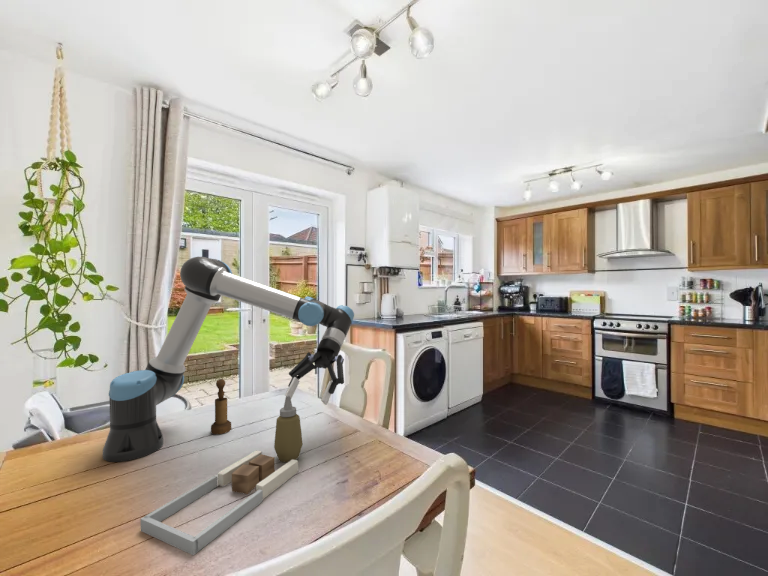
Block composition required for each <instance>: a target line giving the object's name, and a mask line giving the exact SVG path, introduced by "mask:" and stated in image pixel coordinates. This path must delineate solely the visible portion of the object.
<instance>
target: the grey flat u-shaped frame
mask: <svg viewBox="0 0 768 576" xmlns="http://www.w3.org/2000/svg"><path fill="white" fill-rule="evenodd" d="M217 487H218V475H213V476H211V477H210V478H208V479H206V480H205V481H203V482H201V483H200V484H197V485H195V486H193V487H192V488H190V489H189V490H187V491H186V492H184V493H182V494H180V495H179V496H177V497H175V498H174V499H172V500H170V501H169V502H167V503H164V504H163V505H161V506H160V507H158V508H156V509H155V510H153V511H151V512H150V513H148V514H146V515H144V516H143V517H141V518H140V532H142V533H144V534H147V535H149V536H151V537H153V538H155V539H157V540H160V541H161V542H164V543H165V544H168V545H170V546H172V547H173V548H174V547H175V548H176V549H178V550H181V551H182V552H186V553H188V554H189V555H191V556H195V555H196V554H197V553H198V552H200V550H202V549H203V548H205V547H206V546H207V545H208V544H210V543H211V542H212V541H214V540H215V539H216V538H217V537H219V536H220V535H221V534H222V533H224V532H225V531H226V530H227V529H229V528H230V527H231V526H233V525H234V524H235V523H237V522H238V521H239V520H241V519H242V518H243V517H244V516H246V515H247V514H248V513H250V511H252V510H254V508H256V507H257V506H259V505H260V504H261V503H263V500H264V499H263V490H260V489H259V490H258V491H257V492H256V491H254V493H252V494H251V495H250V496H248V497H247V498H246V499H244V500H243V501H241V502H240V503H239V504H237V505H235V507H233V508H232V509H230V510H229V511H228V512H226V513H225V514H224V515H222V516H221V517H219V518H218V519H217V520H215V521H214V522H212V523H211V524H209V525H208V526H207V527H205V528H204V529H203V530H202V531H200V532H198V533H197V534H196V535H191V534H189V533H186V531H183V530H181V529H178V528H175V527H173V526H171V525H168V524H165V523H163V522H162V521H164V520H166V519H167V518H169V517H171V516H172V515H174V514H175V513H177V512H178V511H180V510H182V509H183V508H185V507H186V506H188V505H190V504H192V503H193V502H195V501H196V500H199V498H201V497H203V496H204V495H206V494H207V493H209V492H211V491H212V490H214V489H215V488H217Z"/></svg>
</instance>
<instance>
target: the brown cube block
mask: <svg viewBox="0 0 768 576" xmlns="http://www.w3.org/2000/svg"><path fill="white" fill-rule="evenodd" d="M258 483H259V466H252V465H245V464H243V465H242V466H241V467H240V468H238V469H237V470H236V471H234V472H233V473H232V481H231V492H232V493H237V494H243V493H244V494H245V495H249V494H250V493H251V492H252V491H253V490H255V489H256V484H258Z"/></svg>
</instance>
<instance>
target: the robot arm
mask: <svg viewBox="0 0 768 576" xmlns="http://www.w3.org/2000/svg"><path fill="white" fill-rule="evenodd" d="M179 271H180V273H179V274H180V275H179V277H180V280H181V282H182V283H183V285H184V291H185V293H186V296H185V298H184V300H183V302H182V304H181V306H180V308H179V310H178V313H177V314H176V317H175V318H174V321H173V323H172V325H171V326H170V329H169V332H168V333H167V336H166V337H165V339H164V342H163V343H162V345H161V347H160V350H159V351H158V354H157V356H155V357H152V358H150V359H149V360H148V363H147V365H146V367H145V369H141V370H134V371H130V372H127V373H123V374H120V375H118V376H116V377H115V378H113V379H112V380H111V382H110V384H109V389H108V390H109V391H108V397H109V400H108V401H109V432H108V434H107V437H106V440H105V443H104V445H103V448H102V460H104V461H105V460H106V461H105V462H109V463H110V462H113V463H117V462H118V463H120V462H126V461H130V460H131V461H132V460H135V459H139V458H143V457H145V456H147V455H151V454H153V453H154V452H156V451H158V450H160V449H161V448H162V447H163V444H164V435H163V433H162V430H161V428H160V426H159V424H158V420H157V406H158V405H159V404H162V403H163V402H165V401H167V400H168V399H170V398H172V397H174V396H175V395H176V394H177V393H179V391H181V388H182V387H183V385H184V382H185V375H184V374H185V372H186V366H185V364H184V363H185V361H186V359H187V357H188V356H189V353H190V351H191V348H192V347H193V345H194V343H195V341H196V338H197V336H198V334H199V332H200V330H201V329H202V328H201V327H202V326H203V324H204V321H205V319H206V317H207V315H208V312H209V311H210V309H211V307H212V304H214V303H217V302H219V300H220V299H221V296H222V297H226V298H228V299H231V300H233V301H234V300H235V301H238V302H241V303H244V304H246V305H249V306H253V307H255V308H259V309H262V310H265V311H268V312H271V313H274V314H277V315H280V316H282V317H286V318H289V319H292V320H295V321H297V322H300V323H302V324H303V325H305V326H307V327H314V326H317V325H318V324H319V325H322V326H324V327H326V329H325V331H324V333H323V335H322V337H321V340H320V342H319V343H318V345H317V348H316V352H315V353H314V354H313V353H311V352H310V351H308V352H307V353H306V355H305V357H303V358H302V359H301V360H300V361H299V362H298V363H297V364H296V365H295V366H294V367H293V368H292V369H291V370H290V371H289V372H288V375H289V376H290V377H291V379H290V382H289V383H288V388H287V391H286V392H285V394H284V396H285V397H286V396H290V398H291V399H292V398H293V396H294V394H295V392H296V390H297V389H298V386H299V384H300V382H301V381H300V379H302V378H303V377H304V376H306V375H307V374H308V373H310V372H311V371H313V370H316V369H317V368H318V369H327V370H328V372H329V376H330V380H329V381H328V383H327V386H326V388H325V390H324V392H323V395H322V397H321V400H320V401H321V402H322V403H323V404H324V405H328V403H329V401H330V398H331V395H333V394H334V393H335V390H336V389H337V386H338V385H340V384H341V385H343V384H344V383H345V377H344V365H343V364H344V361H345V359H344V358H343V356H342V355H341V354H339V353H340V351H341V348H342V346H343V344H344V342H345V339H346V337H347V335H348V332H349V330H350V329H351V326H352V323H353V321H354V318H355V311H354V310H353V309H352V308H351V307H350V306H349V305H344V304H339V305H337V307H333V306H330V305H328V304H326V303H325V302H322V301H320V300H317V298H313V297H311V296H305V297H304V298H303V297H300V296H297V295H294V294H292V293H288V292H287V291H283V290H280V289H277V288H274V287H271V286H268V285H265V284H263V283H260V282H256V281H254V280H251V279H248V278H245V277H242V276H240V275H237V274H234V273H233V272H232V269H231V268H230V266H229V265H228V264H227V263H225V262H223V261H222V260H219V259H216V258H211V257H205V256H194V257H191V258H188V259H187V260H186V261H184V263H183V264H182V265H181V267H180V270H179ZM335 362H336V373H335V370H334V366H333V364H334V363H335ZM336 375H337V376H336Z"/></svg>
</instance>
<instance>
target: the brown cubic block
mask: <svg viewBox="0 0 768 576" xmlns="http://www.w3.org/2000/svg"><path fill="white" fill-rule="evenodd" d="M275 462H276V461H275V457H273V456H270V455H266V454H261V455H260V456H258V457H256V458H255V459H253V460H251V461H250V462H249V465H252V466H259V482H261V481H262V480H264V479H265V478H266V477H268V476H269V475H271V474H272V473H274V472H275V471H276V468H275V466H276V465H275Z"/></svg>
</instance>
